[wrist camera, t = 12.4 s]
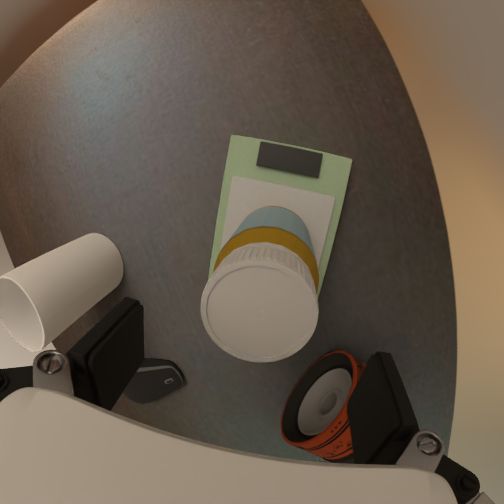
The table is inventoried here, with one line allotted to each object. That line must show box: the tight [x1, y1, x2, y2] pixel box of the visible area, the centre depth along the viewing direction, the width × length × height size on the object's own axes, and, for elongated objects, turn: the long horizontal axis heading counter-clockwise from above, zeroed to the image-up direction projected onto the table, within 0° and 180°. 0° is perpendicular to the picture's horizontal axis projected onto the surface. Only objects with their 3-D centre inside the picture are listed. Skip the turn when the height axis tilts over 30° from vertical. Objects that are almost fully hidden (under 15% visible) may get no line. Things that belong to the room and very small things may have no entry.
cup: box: [0, 233, 123, 352], centre depth 29 cm, size 8×8×16 cm
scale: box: [208, 135, 352, 300], centre depth 30 cm, size 16×12×3 cm
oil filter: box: [281, 351, 366, 464], centre depth 31 cm, size 13×12×13 cm
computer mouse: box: [123, 359, 184, 404], centre depth 39 cm, size 7×12×4 cm, turn 110°
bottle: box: [201, 206, 319, 362], centre depth 22 cm, size 7×7×15 cm
